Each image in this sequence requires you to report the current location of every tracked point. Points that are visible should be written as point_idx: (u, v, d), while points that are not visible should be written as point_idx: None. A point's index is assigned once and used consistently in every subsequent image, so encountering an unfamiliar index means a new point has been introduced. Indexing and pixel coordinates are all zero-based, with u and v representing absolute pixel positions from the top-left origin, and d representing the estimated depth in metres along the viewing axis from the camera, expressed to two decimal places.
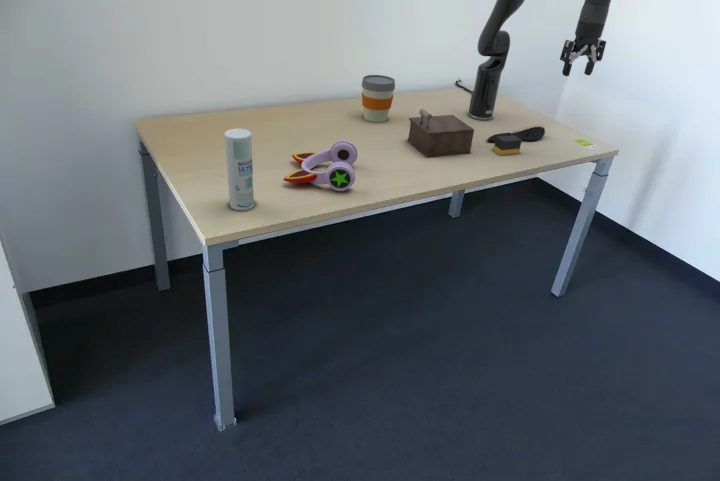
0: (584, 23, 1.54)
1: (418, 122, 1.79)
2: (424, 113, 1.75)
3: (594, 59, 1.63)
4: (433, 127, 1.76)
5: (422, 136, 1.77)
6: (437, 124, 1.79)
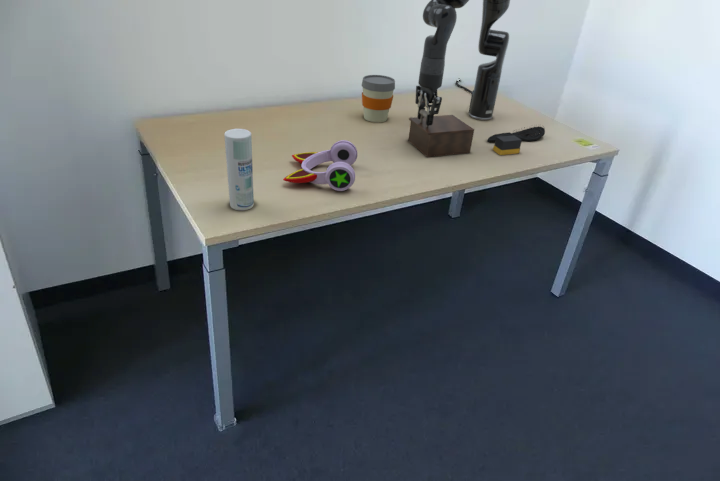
0: None
1: (418, 122, 1.79)
2: (424, 113, 1.75)
3: (427, 110, 1.72)
4: (433, 127, 1.76)
5: (422, 136, 1.77)
6: (437, 124, 1.79)
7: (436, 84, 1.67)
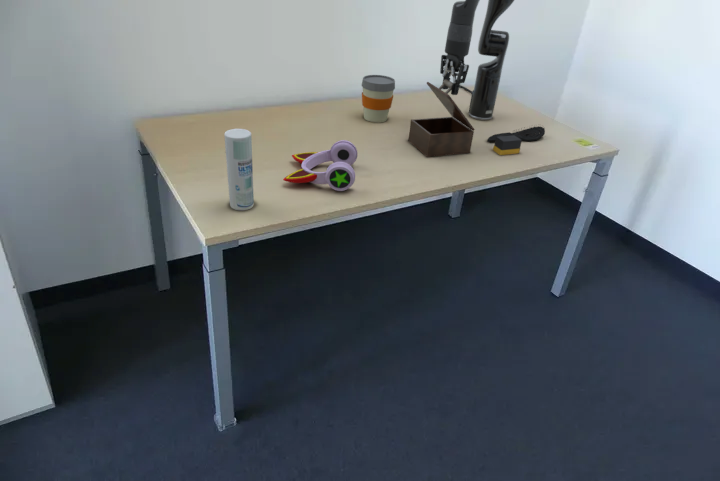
0: None
1: None
2: (450, 82, 1.72)
3: (453, 79, 1.69)
4: None
5: (422, 136, 1.77)
6: None
7: (464, 52, 1.65)
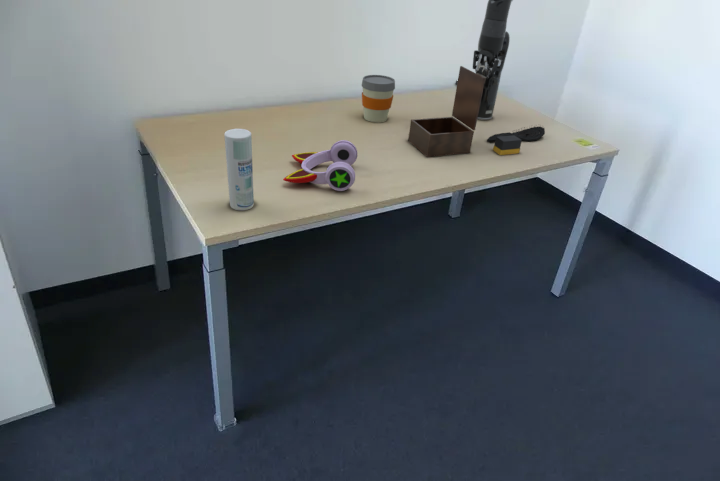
0: None
1: None
2: (483, 76, 1.76)
3: (487, 74, 1.73)
4: None
5: (422, 136, 1.77)
6: None
7: (498, 47, 1.68)
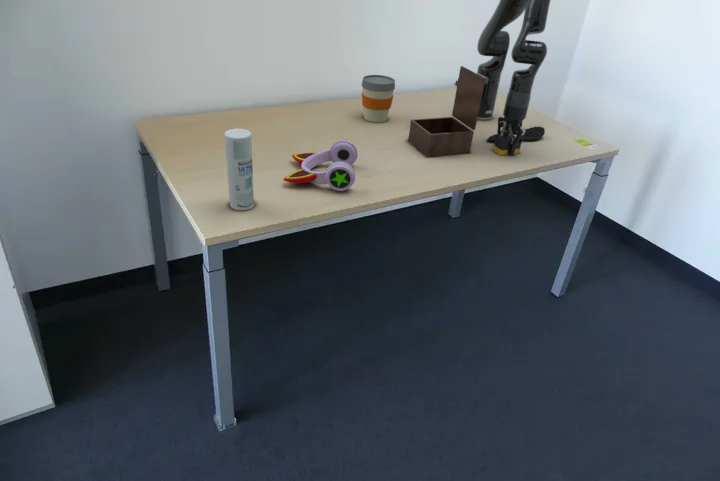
0: None
1: None
2: (484, 76, 1.76)
3: (510, 140, 1.80)
4: None
5: (422, 136, 1.77)
6: None
7: (522, 116, 1.75)
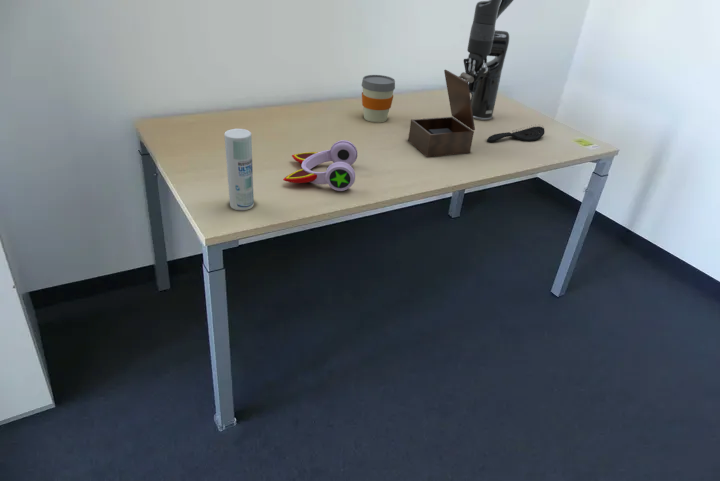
0: None
1: None
2: (469, 75, 1.73)
3: None
4: None
5: (422, 136, 1.77)
6: None
7: (486, 51, 1.67)
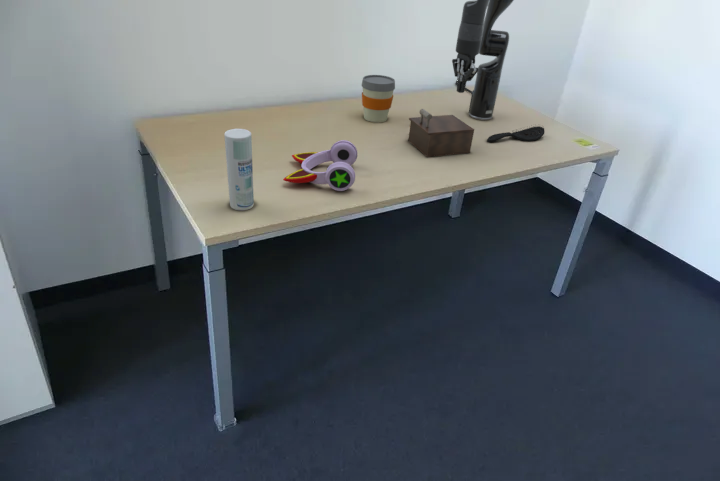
0: None
1: (418, 122, 1.79)
2: (424, 113, 1.75)
3: (460, 77, 1.73)
4: (433, 127, 1.76)
5: (422, 136, 1.77)
6: (437, 124, 1.79)
7: (475, 51, 1.66)
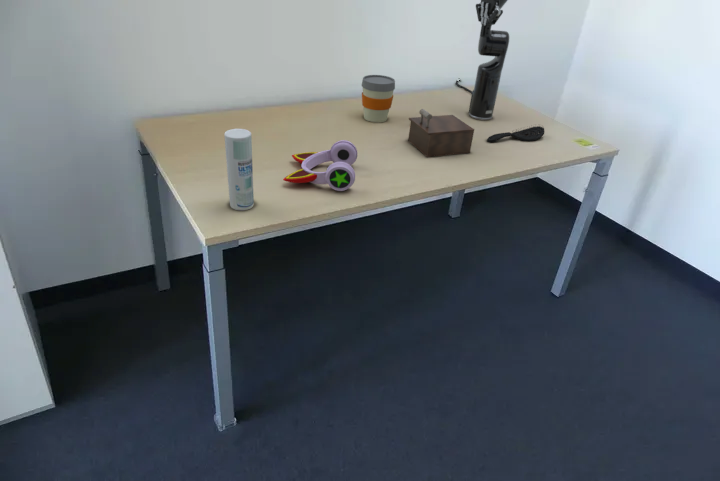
0: None
1: (418, 122, 1.79)
2: (424, 113, 1.75)
3: (484, 21, 1.73)
4: (433, 127, 1.76)
5: (422, 136, 1.77)
6: (437, 124, 1.79)
7: None
